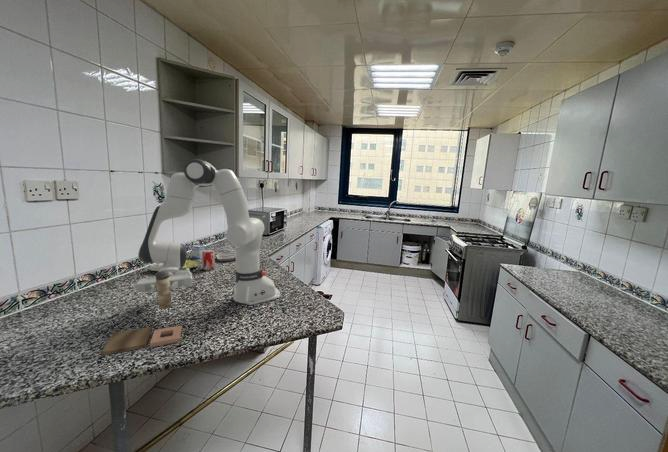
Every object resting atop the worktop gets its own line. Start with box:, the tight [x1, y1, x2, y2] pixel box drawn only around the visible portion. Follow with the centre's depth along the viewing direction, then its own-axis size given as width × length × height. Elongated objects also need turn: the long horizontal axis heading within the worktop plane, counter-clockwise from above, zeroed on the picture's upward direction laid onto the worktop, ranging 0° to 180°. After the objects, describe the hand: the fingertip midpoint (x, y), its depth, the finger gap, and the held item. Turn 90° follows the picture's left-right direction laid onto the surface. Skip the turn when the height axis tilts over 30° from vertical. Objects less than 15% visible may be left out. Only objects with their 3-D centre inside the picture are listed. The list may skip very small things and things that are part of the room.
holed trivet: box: [149, 325, 183, 348], centre depth 102 cm, size 9×9×2 cm
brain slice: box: [215, 250, 237, 263], centre depth 198 cm, size 20×17×3 cm
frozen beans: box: [144, 259, 203, 272], centre depth 171 cm, size 21×6×25 cm
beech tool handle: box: [154, 271, 173, 310], centre depth 109 cm, size 4×4×14 cm
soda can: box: [201, 248, 216, 271], centre depth 174 cm, size 7×7×12 cm
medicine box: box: [191, 244, 205, 260], centre depth 196 cm, size 8×4×9 cm, turn 68°
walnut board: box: [101, 326, 153, 356], centre depth 99 cm, size 12×12×1 cm
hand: (163, 289), depth 108 cm, fingers closed on beech tool handle, 4 cm apart
